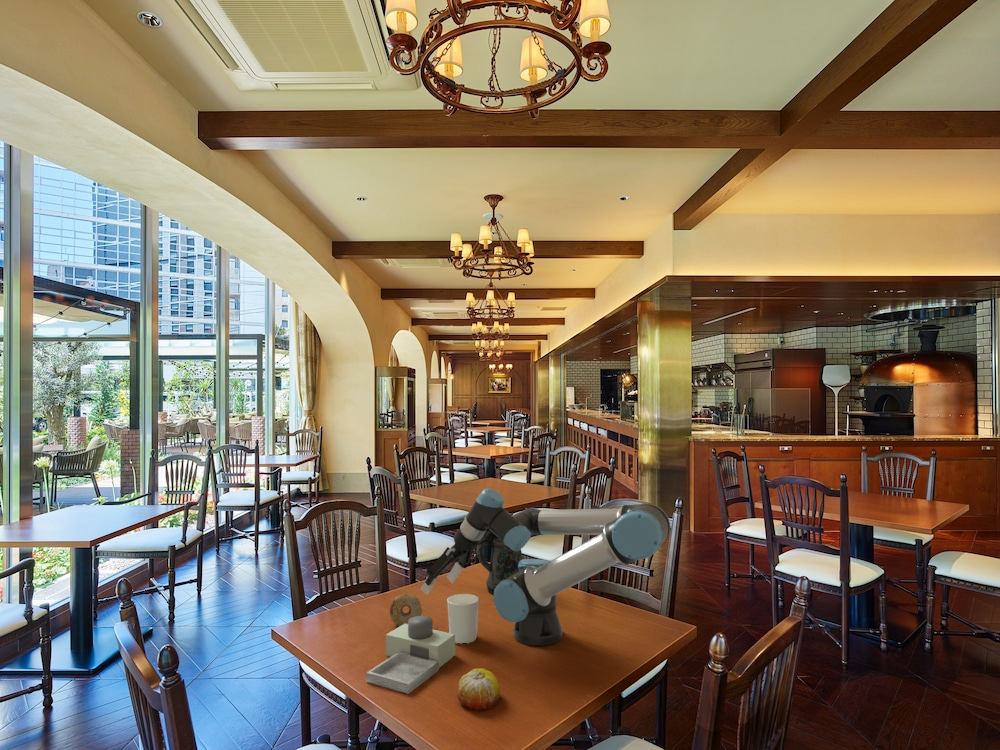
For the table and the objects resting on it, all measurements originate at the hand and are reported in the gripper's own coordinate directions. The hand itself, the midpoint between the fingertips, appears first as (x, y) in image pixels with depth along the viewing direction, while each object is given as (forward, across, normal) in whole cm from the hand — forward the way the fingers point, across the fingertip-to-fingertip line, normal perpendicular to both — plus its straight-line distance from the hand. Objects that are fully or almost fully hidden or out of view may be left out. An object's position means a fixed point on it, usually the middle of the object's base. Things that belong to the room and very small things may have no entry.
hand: (437, 585), depth 177 cm
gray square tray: (+9, +25, +16) cm, 31 cm away
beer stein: (+12, -46, +7) cm, 48 cm away
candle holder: (+8, -2, +16) cm, 18 cm away
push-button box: (+10, +14, +12) cm, 21 cm away
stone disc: (+20, -1, -2) cm, 20 cm away
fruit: (-5, +26, +36) cm, 44 cm away
